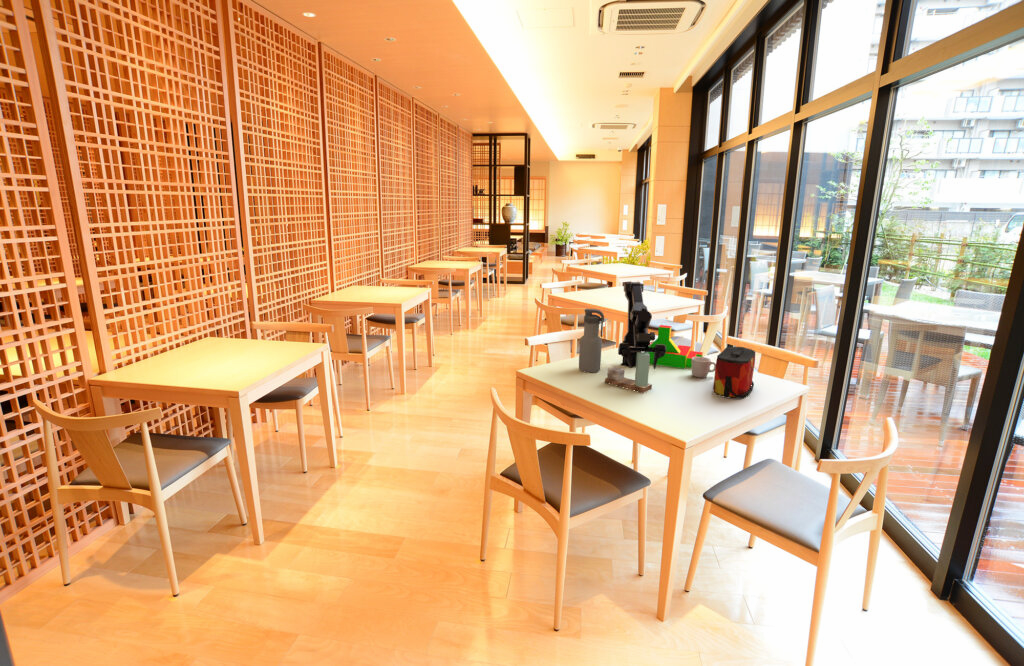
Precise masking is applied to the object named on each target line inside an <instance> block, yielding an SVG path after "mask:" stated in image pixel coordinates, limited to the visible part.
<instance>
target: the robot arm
mask: <svg viewBox="0 0 1024 666" xmlns="http://www.w3.org/2000/svg"><path fill="white" fill-rule="evenodd" d="M644 285H645V284H644V283H641V282H639V281H638V282H637V281H627V282H626V283H624V284H623V292H624V297H625V298H626V300H627V328H626V329H627V332H626V333H625V335H624V336H623V340H622V342H620V343H619V344H618V348H617V349H618V350H617V355H619V356H621V357H622V360H621V361H622V362H621V363H620V365H621V366H624V367H628V368H631V369H632V368H634V367H635V368H636V358H637V352H654V363H653V364H652V365H653V369H654V370H655V369H656V367H657V365H656V363H657V360H658V358H661V357H663V356H664V355H665V352H666V346H665V345H664V344H656V346H655V347H649V345H650V344H651V342H652V341H655V340H656V333H655V331H650V332H649V331H648V330H649V329H648V328H649V326H650V323H651V322H652V321H651V320H652V319H653V315H652V313H651V312H650V311H648V306H646V304H644V297H643V292H644Z"/></svg>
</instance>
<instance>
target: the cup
mask: <svg viewBox="0 0 1024 666" xmlns="http://www.w3.org/2000/svg"><path fill="white" fill-rule="evenodd" d="M712 365H713V369H711V366H712ZM715 368H716V362H715V361H713V360H711V359H710V358H708V357H705V356H703V357H692V368H691V375H692V376H693V377H695V378H700V379H702V378H706V377H707V376H708V374H709V373H715Z"/></svg>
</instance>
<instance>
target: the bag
mask: <svg viewBox="0 0 1024 666" xmlns="http://www.w3.org/2000/svg"><path fill="white" fill-rule="evenodd" d="M755 362H756V351H755V350H753V349H752V348H747V347H743V346H729V347H725V348H724V349H723V350H722V351H721V352H720V353H719V354H718V355H717V357H716V362H715V363H716V368H715V371H714V378H713V386H712V389H713V393H714V394H715V393H716V394H715V395H716V396H719V395H720V397H722V396H724V397H723V398H726V397H730V398H729V399H745V398H747V397H749V396H750V394H751V393H752V391H753V390H752V389H754V386H755V383H754V381H753V378H754V369H755V364H756V363H755ZM751 385H752V387H751ZM746 396H747V397H746ZM744 397H745V398H744Z"/></svg>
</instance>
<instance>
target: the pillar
mask: <svg viewBox="0 0 1024 666" xmlns="http://www.w3.org/2000/svg"><path fill="white" fill-rule="evenodd" d="M649 362H650V355H649V353H648V352H637V358H636V366H635V373H634V374H635V375H634V380H635V384H636V386H647V387H648V384H649V375H650V374H649V372H650V371H649V370H650V364H649Z"/></svg>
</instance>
